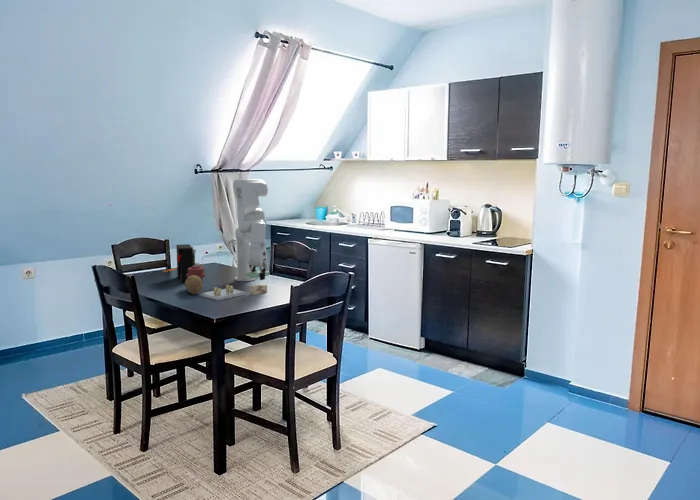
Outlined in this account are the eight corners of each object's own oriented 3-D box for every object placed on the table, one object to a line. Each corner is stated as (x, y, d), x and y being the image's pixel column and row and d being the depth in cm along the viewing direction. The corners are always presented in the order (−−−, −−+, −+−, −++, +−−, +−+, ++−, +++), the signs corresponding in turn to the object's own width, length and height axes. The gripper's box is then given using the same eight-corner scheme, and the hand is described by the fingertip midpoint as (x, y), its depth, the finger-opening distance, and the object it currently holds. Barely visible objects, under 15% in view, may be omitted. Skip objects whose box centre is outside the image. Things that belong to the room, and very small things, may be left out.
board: (261, 273, 296) (261, 269, 296) (269, 275, 292) (269, 271, 292) (246, 276, 288) (246, 272, 287) (253, 278, 284) (253, 274, 283)
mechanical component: (193, 286, 306) (208, 287, 303) (183, 289, 296) (199, 290, 294) (192, 264, 304) (208, 265, 302) (182, 267, 295) (198, 268, 292)
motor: (188, 267, 366) (187, 260, 365) (210, 271, 353) (209, 263, 352) (159, 277, 348) (157, 270, 347) (181, 282, 335) (180, 274, 334)
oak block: (262, 291, 295) (262, 283, 294) (267, 292, 293) (267, 284, 292) (249, 293, 288) (249, 286, 287) (254, 294, 286) (254, 287, 285)
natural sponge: (187, 292, 290) (186, 273, 289) (204, 292, 291) (204, 273, 290) (183, 295, 281) (183, 276, 280) (201, 295, 282) (201, 276, 281)
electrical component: (196, 282, 318) (196, 247, 315) (178, 283, 314) (177, 248, 311) (193, 276, 334) (192, 244, 331) (176, 277, 330) (175, 244, 327)
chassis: (228, 290, 295) (228, 282, 294) (245, 294, 286) (245, 286, 285) (200, 296, 281) (200, 287, 280) (217, 300, 272) (217, 291, 272)
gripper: (274, 246, 285) (274, 280, 288) (252, 242, 295) (252, 275, 298) (263, 248, 279) (263, 282, 282) (241, 244, 289) (241, 277, 293)
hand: (258, 278), depth 290 cm, fingers closed on board, 6 cm apart
